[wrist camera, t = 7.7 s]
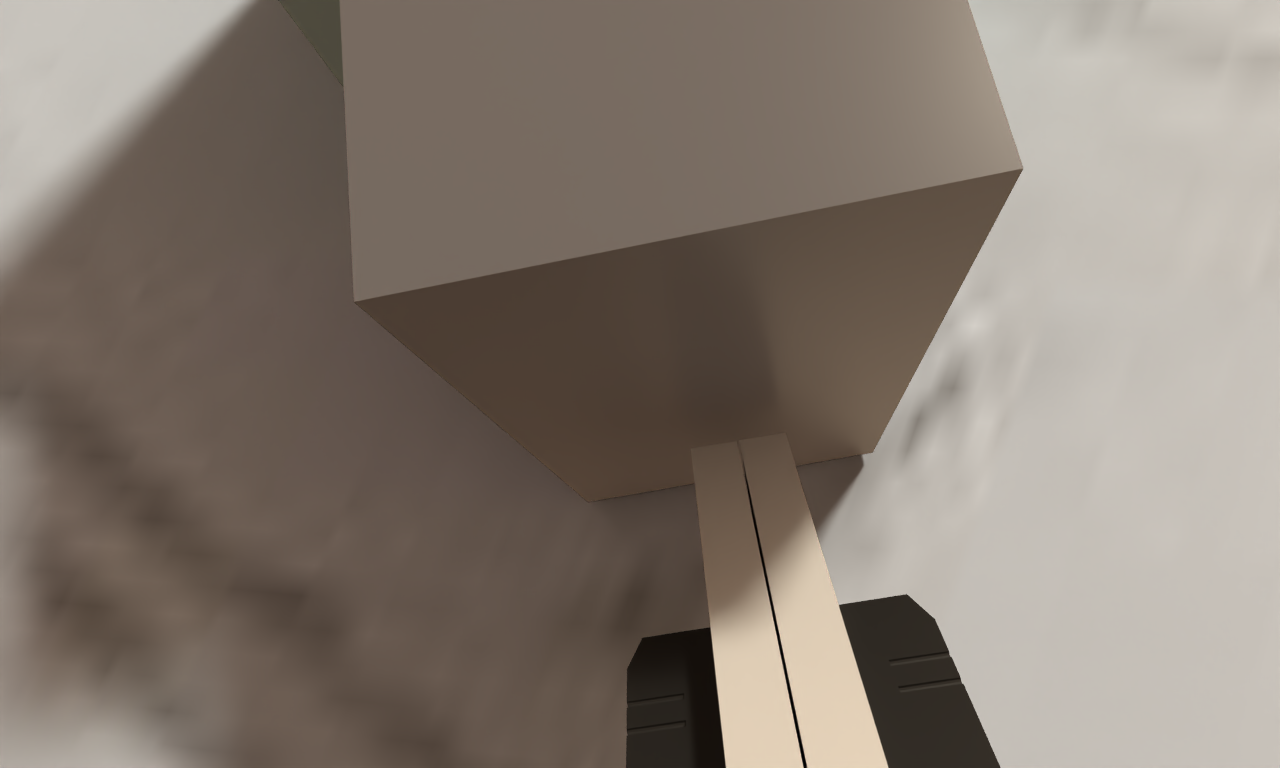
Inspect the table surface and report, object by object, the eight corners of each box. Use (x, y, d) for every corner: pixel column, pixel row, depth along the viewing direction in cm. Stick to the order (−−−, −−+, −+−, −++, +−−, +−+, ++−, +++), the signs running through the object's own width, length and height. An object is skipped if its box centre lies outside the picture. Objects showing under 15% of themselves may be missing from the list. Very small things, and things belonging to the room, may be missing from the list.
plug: (872, 452, 18) (1023, 168, 7) (587, 502, 18) (353, 302, 8) (777, 54, 21) (788, -540, 11) (536, 106, 21) (320, -412, 11)
